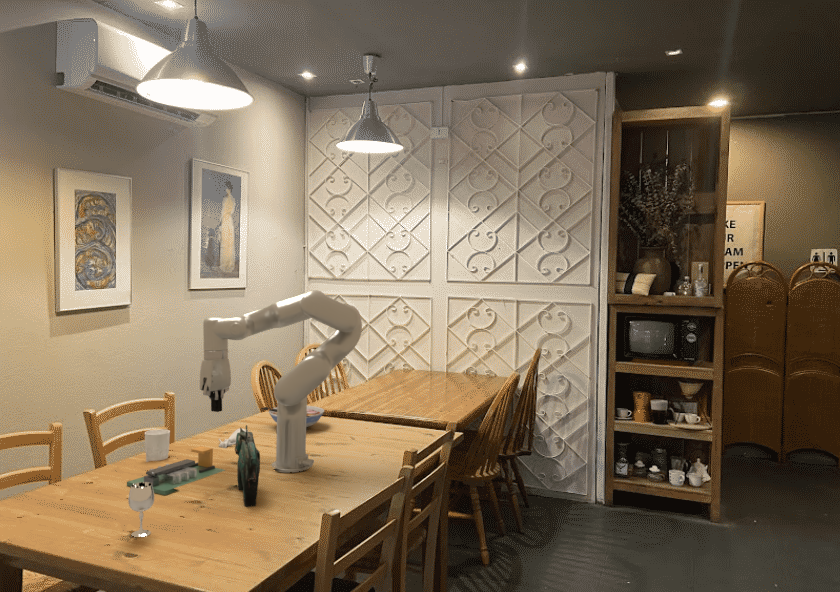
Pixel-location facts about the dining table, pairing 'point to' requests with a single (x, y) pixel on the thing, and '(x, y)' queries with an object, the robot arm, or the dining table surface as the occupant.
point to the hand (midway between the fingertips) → (216, 411)
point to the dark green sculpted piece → (247, 466)
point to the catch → (204, 456)
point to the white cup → (157, 444)
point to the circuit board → (169, 488)
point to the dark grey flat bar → (170, 467)
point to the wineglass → (141, 503)
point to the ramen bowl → (311, 415)
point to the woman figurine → (230, 439)
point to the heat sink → (172, 476)
